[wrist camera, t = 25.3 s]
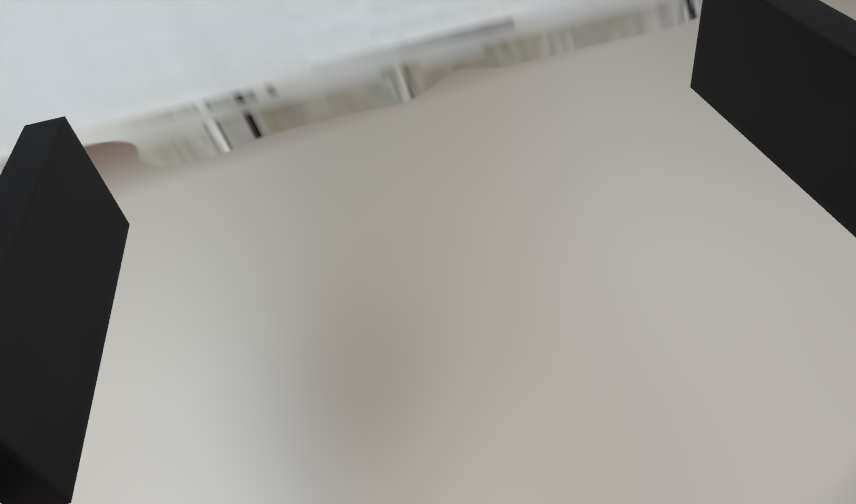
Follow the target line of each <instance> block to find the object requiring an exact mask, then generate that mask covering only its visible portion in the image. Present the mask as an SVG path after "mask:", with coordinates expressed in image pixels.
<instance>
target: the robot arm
mask: <svg viewBox="0 0 856 504" xmlns="http://www.w3.org/2000/svg"><path fill="white" fill-rule="evenodd" d="M690 87H691V88H692V89H693V90H694V91H695V92H697V94H699V95H700V96H701V97H702V98H703V99H704V100H705V101H706V102H707V103H708V104H710V105H711V106H712V107H713V108H714V109H715V110H716V111H717V112H718V113H719V114H721V115H722V116H723V117H724V118H725V119H726V120H727V121H728V122H729V123H730V124H732V125H733V126H734V127H735V128H736V129H737V130H738V131H739V132H741V134H743V135H744V136H745V137H746V138H747V139H748V140H749V141H750V142H752V144H754V145H755V146H756V147H757V148H758V149H759V150H760V151H761V152H762V153H763V154H765V155H766V156H767V157H768V158H769V159H770V160H771V161H772V162H773V163H774V164H776V165H777V166H778V167H779V168H780V169H781V170H782V171H783V172H784V173H785V174H787V175H788V176H789V177H790V178H791V179H792V180H793V181H794V182H796V184H798V185H799V186H800V187H801V188H802V189H803V190H804V191H805V192H806V193H808V194H809V195H810V196H811V197H812V198H813V199H814V200H815V201H816V202H817V203H818V204H820V205H821V206H822V207H823V208H824V209H825V210H826V211H827V212H828V213H830V214H831V215H832V216H833V217H834V218H835V219H836V220H837V221H838V222H839V223H841V224H842V225H843V226H844V227H845V228H846V229H847V230H848V231H849V232H851V233H852V234H853V235H854V236H855V237H856V21H855V20H854V19H852V18H850V17H848V16H846V15H845V14H843V13H841V12H839V11H837V10H836V9H834V8H832V7H830V6H828V5H827V4H825V3H823V2H821V1H819V0H703V2H702V9H701V16H700V24H699V31H698V37H697V45H696V52H695V58H694V65H693V73H692V80H691V86H690ZM128 229H129V223H128V221H127V219H126V218H125V216H124V214H123V213H122V211H121V209H120V208H119V206H118V204H117V203H116V201H115V199H114V198H113V196H112V194H111V193H110V191H109V189H108V188H107V186H106V184H105V183H104V181H103V179H102V178H101V176H100V174H99V173H98V171H97V169H96V168H95V166H94V164H93V163H92V161H91V159H90V158H89V156H88V154H87V153H86V151H85V149H84V148H83V146H82V144H81V143H80V141H79V139H78V138H77V136H76V134H75V133H74V131H73V129H72V128H71V126H70V124H69V123H68V121H67V119H66V118H65V116H64V117H60V118H56V119H51V120H47V121H43V122H38V123H34V124H30V125H26V126H24V128H23V130H22V132H21V134H20V136H19V138H18V141H17V143H16V145H15V147H14V149H13V151H12V153H11V155H10V157H9V159H8V161H7V163H6V165H5V167H4V169H3V171H2V173H1V175H0V503H1V504H68V503H71V500H72V496H73V491H74V486H75V481H76V477H77V472H78V467H79V462H80V457H81V453H82V448H83V443H84V438H85V433H86V429H87V424H88V419H89V414H90V410H91V405H92V400H93V396H94V390H95V386H96V381H97V377H98V372H99V366H100V362H101V357H102V353H103V347H104V343H105V338H106V334H107V329H108V324H109V319H110V315H111V310H112V305H113V300H114V295H115V291H116V286H117V281H118V276H119V272H120V267H121V262H122V257H123V253H124V248H125V243H126V238H127V233H128Z"/></svg>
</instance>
